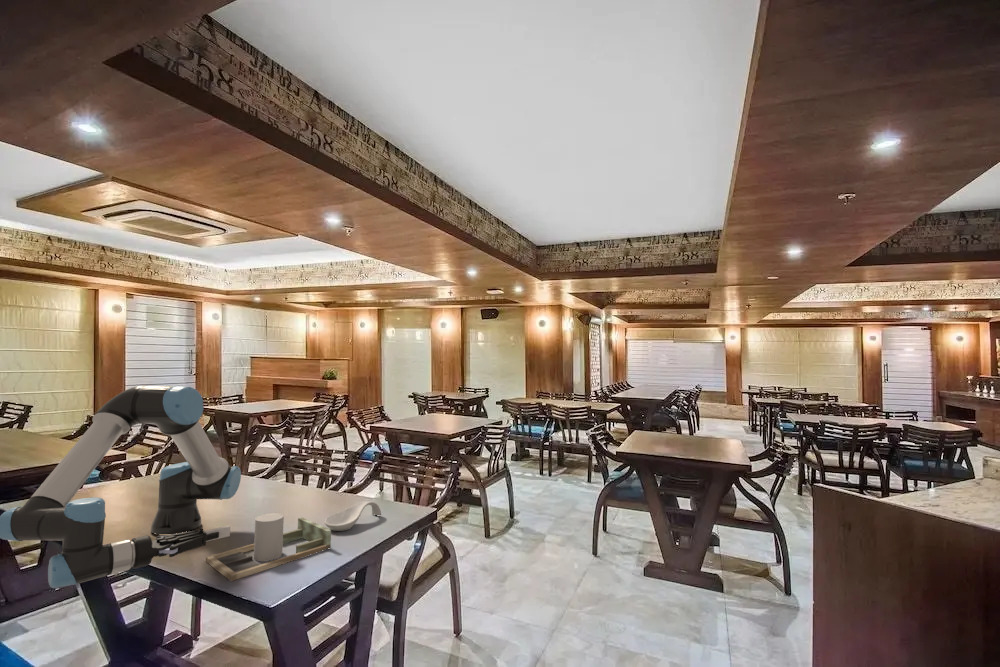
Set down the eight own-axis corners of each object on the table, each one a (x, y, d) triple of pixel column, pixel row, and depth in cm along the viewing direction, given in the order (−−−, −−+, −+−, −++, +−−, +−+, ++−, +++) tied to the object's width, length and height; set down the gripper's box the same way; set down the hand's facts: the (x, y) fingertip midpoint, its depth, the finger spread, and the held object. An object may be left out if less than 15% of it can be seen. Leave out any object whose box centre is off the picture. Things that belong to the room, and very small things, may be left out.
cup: (274, 548, 155) (276, 511, 156) (286, 555, 150) (288, 516, 150) (249, 556, 149) (250, 517, 149) (260, 563, 144) (262, 523, 144)
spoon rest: (339, 537, 166) (340, 516, 167) (317, 530, 172) (318, 510, 173) (387, 518, 187) (388, 500, 187) (366, 513, 193) (366, 495, 193)
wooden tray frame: (205, 561, 144) (206, 541, 144) (301, 534, 168) (302, 517, 168) (231, 581, 132) (232, 559, 132) (330, 548, 156) (331, 530, 156)
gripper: (123, 562, 126) (219, 538, 144) (136, 576, 118) (237, 549, 136) (125, 533, 127) (221, 513, 145) (139, 545, 118) (238, 522, 136)
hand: (229, 530), depth 140 cm, fingers closed
